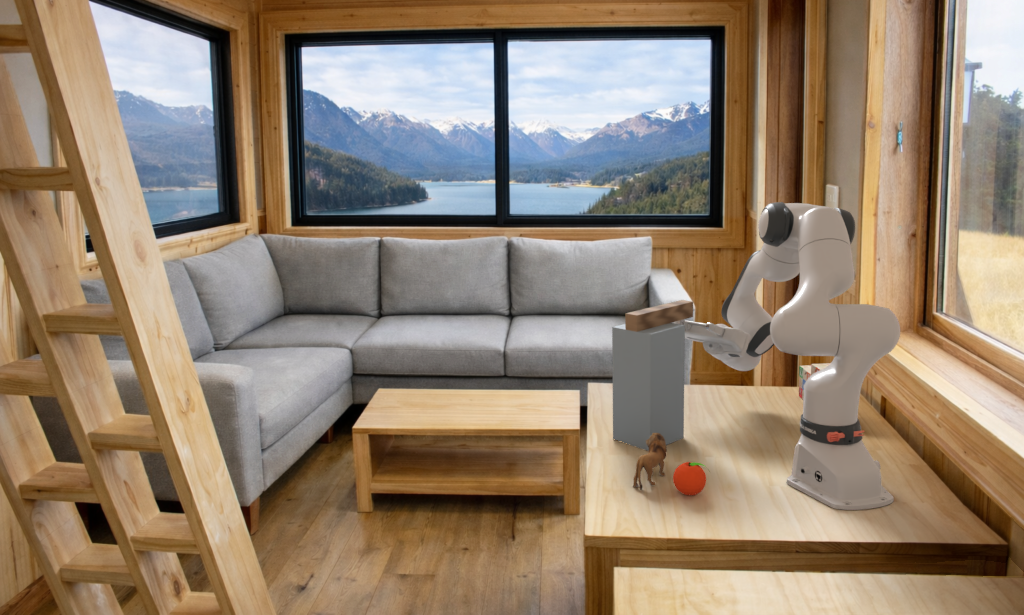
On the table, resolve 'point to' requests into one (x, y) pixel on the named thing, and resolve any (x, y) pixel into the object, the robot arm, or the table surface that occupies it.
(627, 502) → the table surface
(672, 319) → the bar
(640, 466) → the lion figurine
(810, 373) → the stack of blocks
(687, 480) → the clementine
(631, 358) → the stand
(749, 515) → the table surface
